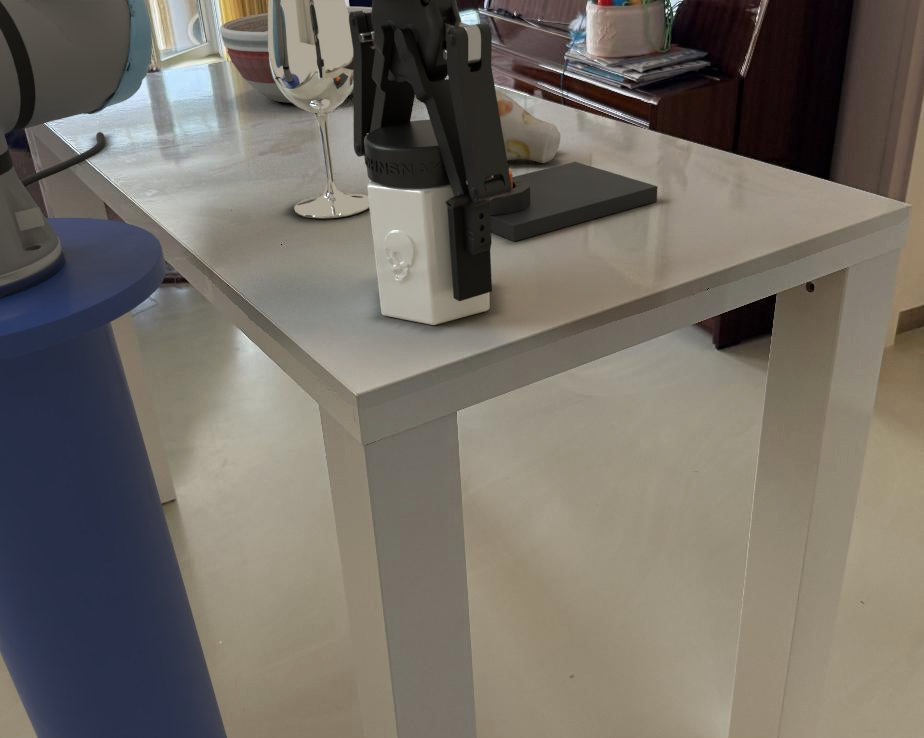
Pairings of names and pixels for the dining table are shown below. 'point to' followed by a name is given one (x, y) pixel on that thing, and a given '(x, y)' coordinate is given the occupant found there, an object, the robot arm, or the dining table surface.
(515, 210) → the scale
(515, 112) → the fruit sandwich
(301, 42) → the wineglass
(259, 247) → the dining table surface
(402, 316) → the jar
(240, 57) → the bowl
